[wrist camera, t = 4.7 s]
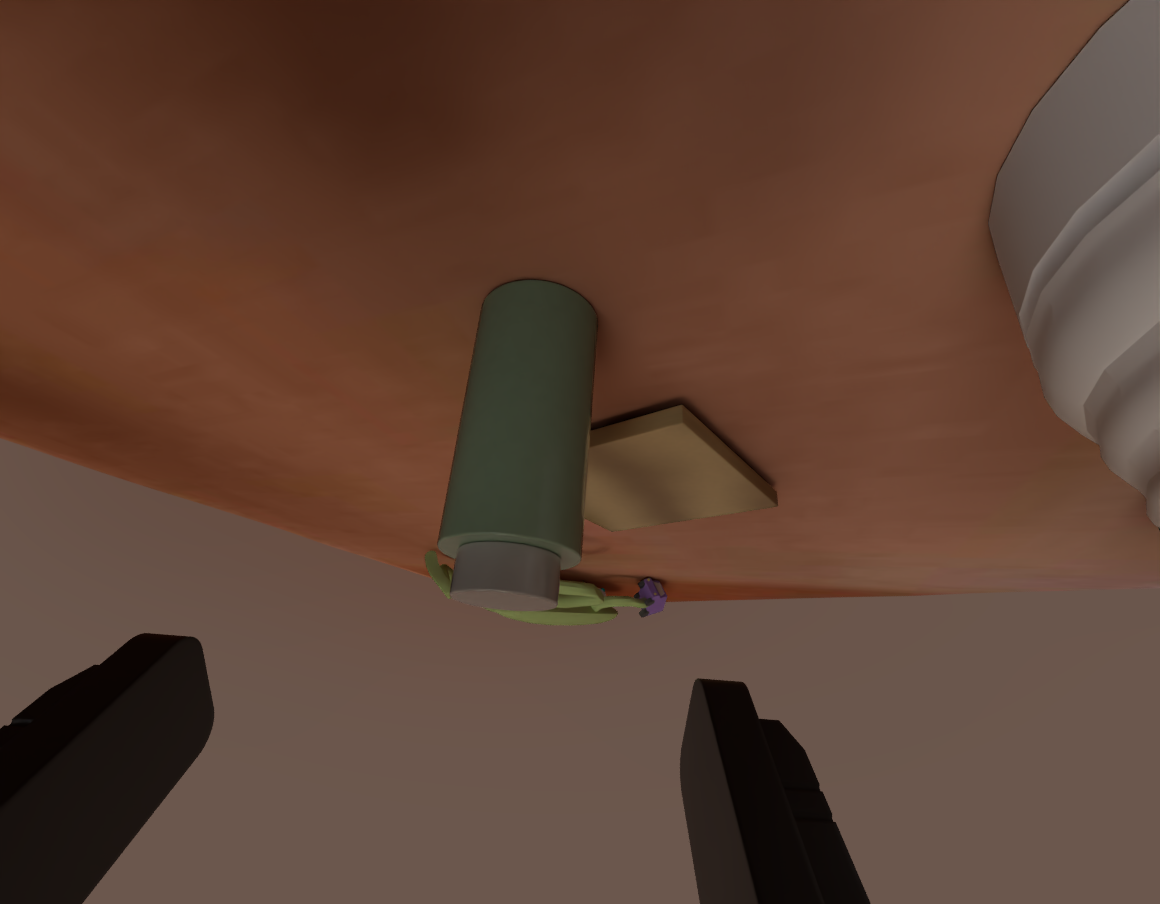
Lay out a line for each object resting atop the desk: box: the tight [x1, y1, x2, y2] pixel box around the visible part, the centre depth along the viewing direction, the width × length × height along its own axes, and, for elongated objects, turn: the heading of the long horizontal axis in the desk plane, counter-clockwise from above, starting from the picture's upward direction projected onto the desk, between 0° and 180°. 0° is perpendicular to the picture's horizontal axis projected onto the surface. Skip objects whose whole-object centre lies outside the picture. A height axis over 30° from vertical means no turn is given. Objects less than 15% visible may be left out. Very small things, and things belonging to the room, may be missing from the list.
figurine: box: [425, 551, 667, 625], centre depth 56 cm, size 18×27×6 cm
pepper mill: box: [437, 280, 598, 611], centre depth 18 cm, size 4×4×10 cm
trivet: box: [584, 405, 778, 532], centre depth 32 cm, size 12×12×1 cm
